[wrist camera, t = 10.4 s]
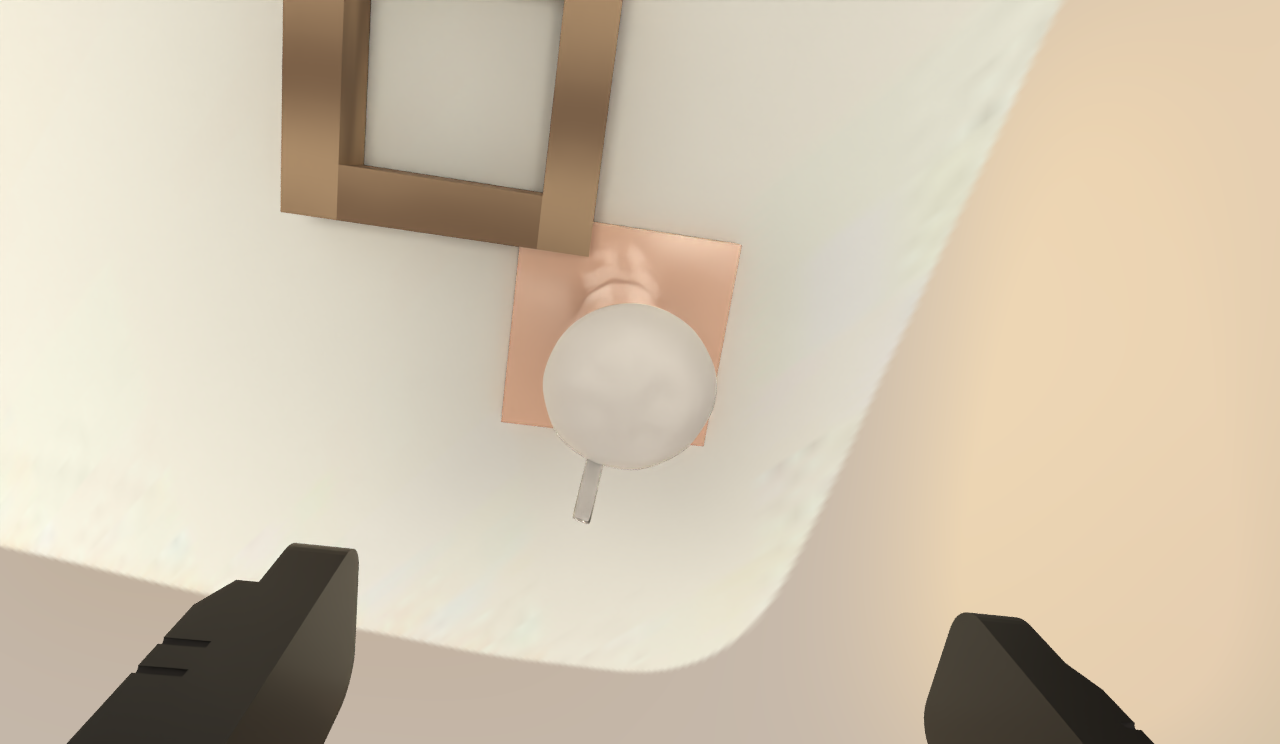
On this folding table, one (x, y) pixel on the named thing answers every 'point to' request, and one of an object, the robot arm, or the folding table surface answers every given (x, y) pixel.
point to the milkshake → (626, 385)
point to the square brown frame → (350, 191)
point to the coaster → (559, 283)
